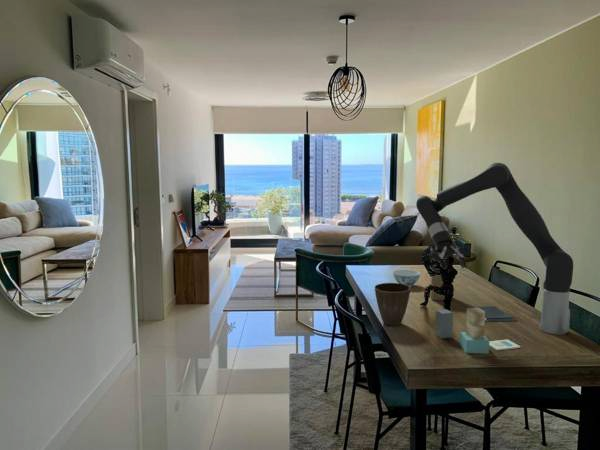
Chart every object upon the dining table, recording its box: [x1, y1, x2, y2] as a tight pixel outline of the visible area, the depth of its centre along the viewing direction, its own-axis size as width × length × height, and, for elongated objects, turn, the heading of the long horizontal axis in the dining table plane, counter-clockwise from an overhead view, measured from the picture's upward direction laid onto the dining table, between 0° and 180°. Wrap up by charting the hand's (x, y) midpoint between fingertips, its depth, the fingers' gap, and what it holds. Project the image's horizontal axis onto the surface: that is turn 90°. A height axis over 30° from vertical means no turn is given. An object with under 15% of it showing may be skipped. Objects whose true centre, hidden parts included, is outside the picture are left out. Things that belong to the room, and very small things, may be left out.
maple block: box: [465, 307, 486, 339], centre depth 159 cm, size 4×4×10 cm
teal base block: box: [459, 331, 490, 354], centre depth 160 cm, size 8×8×5 cm
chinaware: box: [392, 269, 421, 288], centre depth 247 cm, size 15×15×8 cm
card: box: [489, 339, 521, 351], centre depth 163 cm, size 10×7×1 cm
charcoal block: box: [435, 309, 454, 339], centre depth 172 cm, size 4×4×10 cm
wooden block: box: [430, 275, 454, 302], centre depth 222 cm, size 10×10×20 cm
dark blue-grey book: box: [465, 305, 518, 323], centre depth 198 cm, size 20×2×15 cm
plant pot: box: [374, 282, 411, 327], centre depth 186 cm, size 15×15×16 cm
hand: (454, 267), depth 175 cm, fingers open, 8 cm apart
